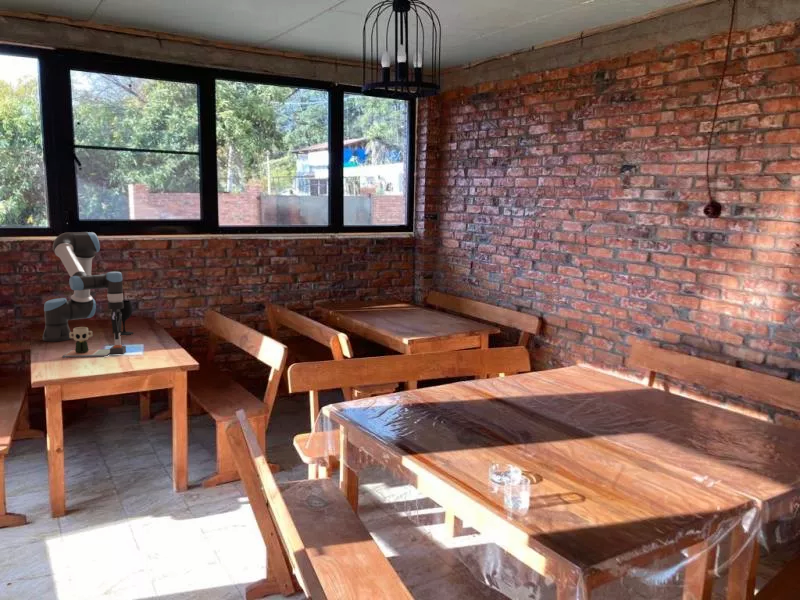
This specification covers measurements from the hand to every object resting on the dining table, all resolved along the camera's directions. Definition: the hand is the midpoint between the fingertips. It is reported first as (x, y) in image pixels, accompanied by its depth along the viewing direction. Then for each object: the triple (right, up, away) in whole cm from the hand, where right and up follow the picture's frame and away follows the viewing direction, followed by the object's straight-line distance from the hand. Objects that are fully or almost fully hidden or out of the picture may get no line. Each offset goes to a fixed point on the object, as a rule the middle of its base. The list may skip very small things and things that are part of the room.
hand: (117, 344), depth 341 cm
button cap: (0, -3, +1) cm, 3 cm away
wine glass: (-18, +3, +50) cm, 53 cm away
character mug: (-18, -4, -2) cm, 19 cm away
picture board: (-15, -5, -2) cm, 15 cm away
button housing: (0, -5, +1) cm, 5 cm away
